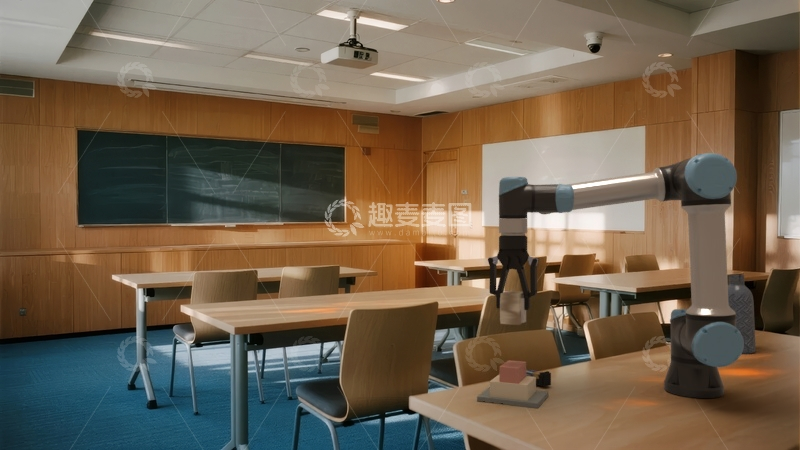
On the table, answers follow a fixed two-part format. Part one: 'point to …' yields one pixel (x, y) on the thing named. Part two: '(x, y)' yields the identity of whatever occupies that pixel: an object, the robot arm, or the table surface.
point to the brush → (540, 377)
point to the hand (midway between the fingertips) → (513, 321)
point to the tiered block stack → (513, 387)
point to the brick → (510, 307)
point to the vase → (742, 311)
